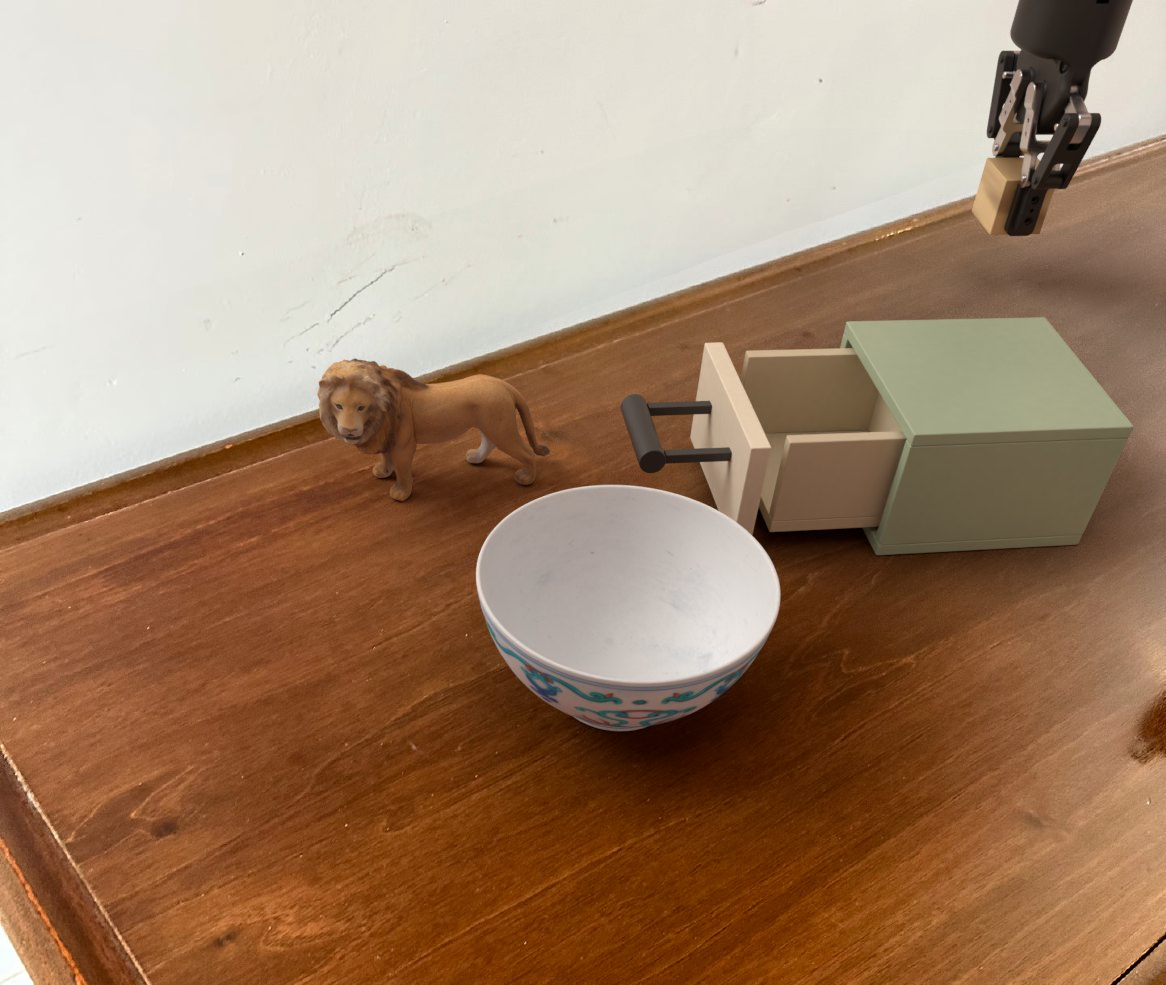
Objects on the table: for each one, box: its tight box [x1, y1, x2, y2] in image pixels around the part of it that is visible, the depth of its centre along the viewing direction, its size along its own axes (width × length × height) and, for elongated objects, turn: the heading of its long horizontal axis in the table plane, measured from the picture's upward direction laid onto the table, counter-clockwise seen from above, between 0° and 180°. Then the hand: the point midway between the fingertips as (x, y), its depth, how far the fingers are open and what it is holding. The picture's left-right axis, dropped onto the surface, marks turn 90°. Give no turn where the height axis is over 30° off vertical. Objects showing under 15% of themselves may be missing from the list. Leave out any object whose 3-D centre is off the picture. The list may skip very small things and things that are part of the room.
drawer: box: [620, 342, 907, 536], centre depth 73 cm, size 18×11×7 cm, turn 100°
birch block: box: [971, 157, 1056, 236], centre depth 94 cm, size 4×4×4 cm
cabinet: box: [839, 316, 1134, 556], centre depth 75 cm, size 14×13×9 cm
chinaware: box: [475, 484, 782, 732], centre depth 61 cm, size 15×15×8 cm
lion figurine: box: [316, 357, 551, 502], centre depth 72 cm, size 15×5×9 cm, turn 115°
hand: (1006, 219), depth 95 cm, fingers closed on birch block, 4 cm apart
